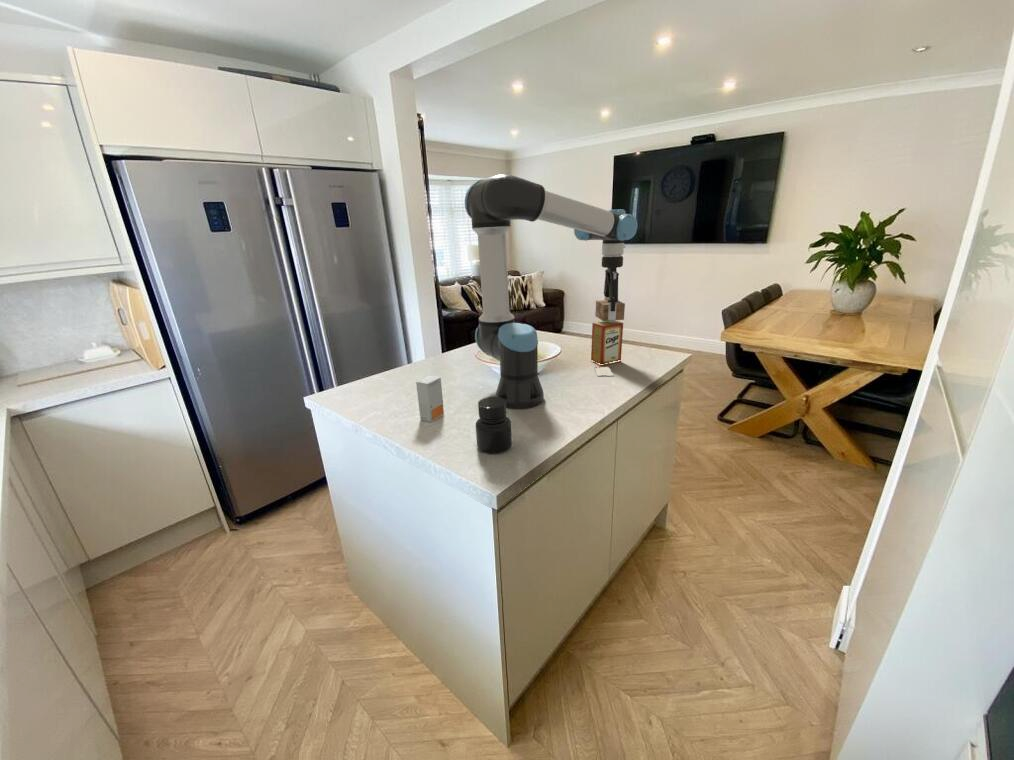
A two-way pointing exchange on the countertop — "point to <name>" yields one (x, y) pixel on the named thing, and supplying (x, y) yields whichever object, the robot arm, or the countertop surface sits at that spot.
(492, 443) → the ink bottle
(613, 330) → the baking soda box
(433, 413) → the skincare box
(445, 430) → the countertop surface
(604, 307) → the walnut block
